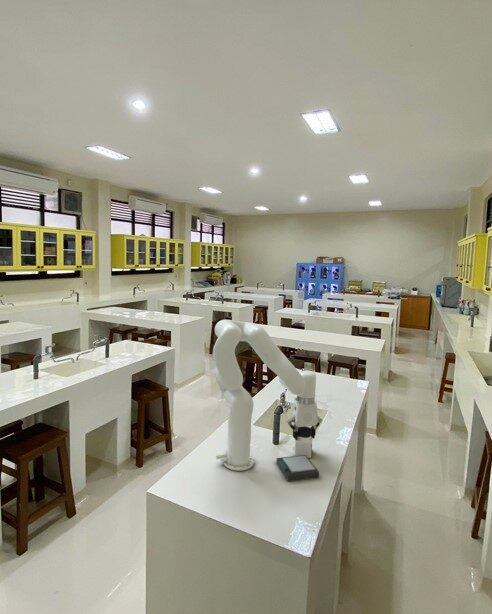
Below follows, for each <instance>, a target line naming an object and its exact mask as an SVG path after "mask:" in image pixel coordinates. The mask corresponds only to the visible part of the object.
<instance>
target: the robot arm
mask: <svg viewBox="0 0 492 614" xmlns="http://www.w3.org/2000/svg"><path fill="white" fill-rule="evenodd" d="M214 334H215V336H216V337H217V339H216V340H215V343H214V345H213V349H212V355H213V361H214V363H215V366H216V367H215V370H214V375H215V376H214V377H215V378H216V382H217V385H218V387H219V390H220V393H221V395H222V398H223V399H224V401H225V403H226V404H227V405H228V407H229V414H228V419H227V449H226V450H225V452H223V453H218V454H215V459H216V460H219V462H223V465H224V466H225V467H226V468H227V469H229V470H231V471H237V472H241V471H246V470H249V469H251V468H252V467H253V466H254V463H255V461H254V458H253V457H252V456H251V440H252V439H251V437H252V436H251V435H252V418H253V412H254V399H253V397H252V395H251V394H250V393H249V391H248V390H247V389H246V388H244V386H243V383H244V377H243V373H242V371H241V367H240V365H239V363H238V360H237V357H236V347H237V346H238V344H239V343H240V342H246V343H248V344H249V345H250V347H251V348H252V349H253V351H254V352H255V353H256V355H257V356H258V357H259V358H260V359H261V361H262V362H263V364H264V365H265V366H266V367H267V368H268V369H269V370H271V371H272V372H273V373H274V374H275V375H276V376H277V377H278V382H279V384H280V386H282V387H283V388H284V389H286V390H287V391H288V392H290V393H291V394H292V395H295V397H293V399H294V400H293V401H295V403H294V406H293V414H292V416H291V417H290V418H289V419H288V420H287V421H286V424H287V425H288V426H289V428H290V429H291V430H292V438H293V439H294V440H298V431H297V429H298V428H299V427H306V426H308V427H310V428H311V437H312V439H316V438H315V437H316V433H317V432H316V431H317V429H318V427H319V426H320V424H322V422H323V419H322V418H321V417H320V416H319V412H318V404H317V402H316V385H317V374H316V373H315V372H314V371H312V370H306V369H305V370H298V369H297V368H296V366H295V365H294V364H293V363H292V362H291V361H290V360H289V359H288V357H287V356H286V355H285V354H284V353H283V352H282V351H281V349H280V348H279V347H278V346H277V344H276V342H275V341H274V340H273V338H272V337H271V336H270V335H269V333H268V331H266V330H265V328H263V327H262V326H260V325H259V324H256V323H255V322H249V321H241V320H240V321H239V320H232V319H221V320H219V321H218V322H217V323H216V324H215V326H214ZM292 423H293V424H292Z"/></svg>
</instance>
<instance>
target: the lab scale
mask: <svg viewBox="0 0 492 614" xmlns="http://www.w3.org/2000/svg"><path fill="white" fill-rule="evenodd" d="M275 464H276V465H277V467H278V468H279V470H280V472H281V473H282V475H283V476H284V478H285V479H286V481H287V482H293V481H294V482H295V481H302V480H310V479H319V476H320V471H319V470H318V468H317V467H316V466H315V465H314V464H313V463H312V461H311V460H310V458H307V456H306V455H300V456H295V455H290V456H283V457H282V456H281V457H276V461H275Z"/></svg>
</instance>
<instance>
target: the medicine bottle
mask: <svg viewBox="0 0 492 614" xmlns="http://www.w3.org/2000/svg"><path fill="white" fill-rule="evenodd" d="M297 431H298V440H295V439H294V440H295V441H294V456H300V455H306V456H307V458H308V459H311V458H312V451H313V438H312V437H311V426H306V427H299V428H298V429H297Z"/></svg>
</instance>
